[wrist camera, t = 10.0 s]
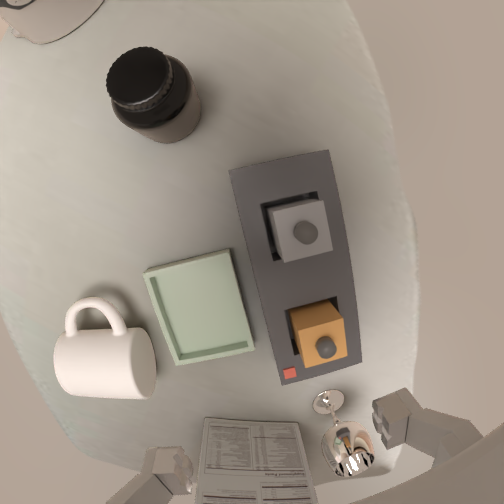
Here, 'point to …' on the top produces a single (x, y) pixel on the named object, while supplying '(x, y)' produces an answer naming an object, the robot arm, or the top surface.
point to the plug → (318, 332)
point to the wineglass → (343, 439)
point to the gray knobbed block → (299, 228)
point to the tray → (200, 307)
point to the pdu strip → (301, 270)
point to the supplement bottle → (153, 94)
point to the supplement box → (253, 464)
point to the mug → (104, 356)
